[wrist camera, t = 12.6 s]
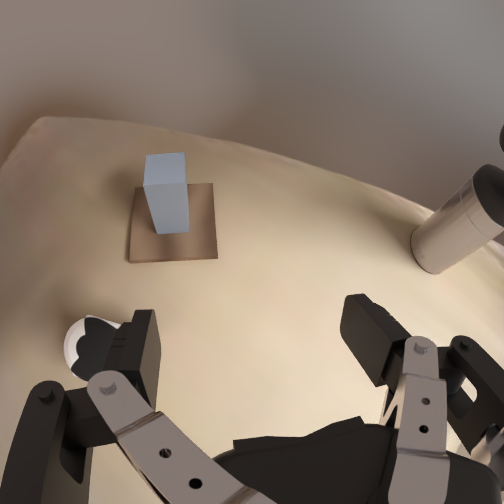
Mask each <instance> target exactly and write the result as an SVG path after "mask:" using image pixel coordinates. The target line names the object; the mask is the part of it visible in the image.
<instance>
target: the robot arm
mask: <svg viewBox="0 0 504 504" xmlns="http://www.w3.org/2000/svg"><path fill="white" fill-rule="evenodd" d="M499 139H500V146H501V148H502V150H503V152H504V126H503V127H502V130H501V133H500V138H499ZM502 231H504V171H503V170H501V169H499V168H498V167H496V166H493V165H490V164H487V165H484V166H482V167H481V168H480V169H479V170H478V171H477V172H476V173H475V174H474V175H473V176H472V177H471V178H470V179H469V180H468V181H467V182H466V183H465V184H464V185H463V186H462V187H461V188H460V189H459V190H458V191H457V192H456V193H455V194H454V195H453V196H452V197H451V198H450V199H449V200H448V201H447V202H446V203H445V204H444V205H443V206H441V207H440V208H439V209H438V210H437V211H436V212H435V213H434V214H433V215H432V216H431V217H430V218H428V219H427V220H426V221H425V222H424V223H423V224H422V225H421V226H419V227H418V228H417V229H416V230H415V231H414V232H413V234H412V237H411V248H412V252H413V254H414V257H415V259H416V260H417V262H418V263H419V265H420V266H421V267H422V268H423V269H424V270H426V271H427V272H429V273H432V274H440V273H441V272H443V271H445V270H446V269H448V268H450V267H451V266H453V265H455V264H456V263H458V262H459V261H461V260H462V259H464V258H465V257H467V256H468V255H470V254H471V253H473V252H474V251H476V250H477V249H479V248H480V247H482V246H483V245H485V244H486V243H487V242H489V241H490V240H492V239H493V238H494V237H496V236H497V235H498V234H499V233H501V232H502ZM340 333H341V336H342V339H343V340H344V342H345V343H346V344H347V346H348V347H349V349H350V350H351V352H352V353H353V355H354V356H355V358H356V359H357V360H358V362H359V363H360V365H361V366H362V368H363V369H364V371H365V372H366V374H367V375H368V377H369V378H370V380H371V381H372V382H373V384H374V385H375V387H379V386H382V385H385V384H387V386H388V388H387V390H386V393H385V398H384V403H383V408H382V412H381V417H380V421H379V424H364V422H363V420H362V418H361V417H360V416H358V417H354V418H351V419H347V420H343V421H339V422H335V423H332V424H330V425H328V426H326V427H324V428H322V429H320V430H317V431H315V432H313V433H311V434H309V435H307V436H304V437H275V436H264V437H257V438H248V439H239V440H233V448H234V449H232V450H229V451H226V452H224V453H222V454H219V455H218V456H216V457H214V458H212V459H211V458H210V457H209V456H208V455H207V454H205V453H204V452H203V451H202V450H201V449H200V448H199V447H198V446H197V445H196V444H194V443H193V442H192V441H191V440H190V439H189V438H188V437H187V436H186V435H185V434H184V433H183V432H182V431H181V430H180V429H179V428H178V427H177V426H176V425H175V424H174V423H173V422H172V421H171V420H170V419H169V418H168V417H167V416H166V415H165V414H164V413H163V412H161V411H158V412H155V409H156V397H157V387H158V377H159V368H160V360H161V343H160V337H159V332H158V327H157V321H156V316H155V311H154V310H153V309H150V310H135V312H134V315H133V319H132V322H124V323H123V324H122V325H121V326H120V327H119V328H118V329H117V330H116V332H115V335H114V338H113V340H112V343H111V347H110V349H109V352H108V355H107V358H106V361H105V364H104V367H103V370H102V372H100V373H97V374H95V375H94V376H93V377H92V378H91V379H90V380H89V382H88V384H87V387H84V388H80V389H74V390H68V391H65V390H64V388H63V386H62V385H61V384H60V383H58V382H56V381H43V382H41V383H39V384H37V385H36V386H34V387H33V389H32V390H31V392H30V394H29V396H28V399H27V401H26V404H25V406H24V409H23V412H22V415H21V417H20V420H19V423H18V426H17V429H16V432H15V435H14V438H13V441H12V445H11V448H10V451H9V455H8V458H7V462H6V466H5V470H4V474H3V478H2V483H1V487H0V504H88V500H89V485H90V473H91V463H92V455H93V447H96V446H101V445H107V444H112V443H116V444H117V446H118V447H119V449H120V450H121V451H122V453H123V454H124V456H125V457H126V458H127V460H128V461H129V462H130V464H131V465H132V466H133V467H134V469H135V470H136V471H137V472H138V474H139V475H140V476H141V477H142V479H143V480H144V481H145V483H146V484H147V485H148V486H149V488H150V489H151V490H152V491H153V492H154V494H155V495H156V496H157V497H158V498H159V499H160V500H161V501H162V502H163V504H502V499H501V491H504V370H503V369H502V368H501V367H500V366H499V364H498V363H497V362H496V361H495V360H494V359H493V358H492V357H491V356H490V355H489V354H488V353H487V352H486V351H485V350H484V349H483V348H482V347H481V346H480V345H479V344H478V343H477V342H475V341H474V340H473V339H471V338H469V337H467V336H462V335H459V336H455V337H454V338H453V339H452V341H451V343H450V346H449V347H436V345H435V344H434V342H432V341H431V340H429V339H428V338H425V337H421V336H413V337H412V336H411V335H410V334H409V333H408V332H407V331H406V330H405V329H404V328H403V327H402V325H401V324H400V323H399V322H398V321H396V319H395V318H394V317H393V316H390V313H389V312H388V311H387V310H386V309H385V308H383V307H381V306H380V305H378V304H376V303H373V302H372V301H371V300H370V299H369V298H368V297H367V296H366V295H365V294H363V293H362V294H354V295H348V296H347V297H346V298H345V302H344V308H343V313H342V318H341V323H340ZM466 377H467V378H468V380H469V381H470V382H471V383H472V384H473V386H474V387H475V388H476V390H477V398H476V400H475V402H474V403H473V401H472V400H471V399H470V397H469V396H468V395H467V394H466V392H465V391H464V390H463V389H462V387H461V385H462V383H463V381H464V380H465V378H466ZM447 421H448V422H449V424H450V425H451V427H452V428H453V430H454V431H455V433H456V434H457V436H458V437H459V439H460V440H461V442H462V443H463V445H464V446H465V448H466V450H467V451H468V452H469V454H470V456H471V459H469V458H466V457H463V456H460V455H457V454H455V453H452V452H449V451H447V450H446V435H447Z"/></svg>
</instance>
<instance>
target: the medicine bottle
mask: <svg viewBox="0 0 504 504" xmlns="http://www.w3.org/2000/svg"><path fill="white" fill-rule="evenodd" d="M120 326H121V324H118V323H115V322H111V321H108V320H105V319H102V318H99V317H95V316H92V315H86V317H85V318H83V319H80V320H78V321H77V322H75V323H74V324H73V325H72V326H71V327H70V329H69V330H68V332H67V334H66V336H65V340H64V356H65V360H66V362H67V365H68V366H69V368H70V369H71V371H72V374H73V375H74V376H75V377H78V378H80V379H82V380H85V381H88V382H89V380H90V379H91V378H92V377H93V376H94V375H95V374H97V373H100V372H102V370H103V367H104V364H105V361H106V358H107V355H108V352H109V349H110V347H111V343H112V340H113V338H114V335H115V332H116V330H117V329H118V328H119V327H120Z"/></svg>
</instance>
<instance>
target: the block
mask: <svg viewBox="0 0 504 504" xmlns="http://www.w3.org/2000/svg"><path fill="white" fill-rule="evenodd" d="M143 187H144V191H145V194H146V198H147V202H148V205H149V209H150V212H151V215H152V219H153V222H154V226H155V229H156V232H157V234H168V233H185V232H189V204H188V192H187V178H186V163H185V152H181V153H166V154H153V155H146V163H145V172H144V181H143Z"/></svg>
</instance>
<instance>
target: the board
mask: <svg viewBox="0 0 504 504" xmlns="http://www.w3.org/2000/svg"><path fill="white" fill-rule="evenodd" d="M187 192H188V204H189V232H185V233H168V234H157V232H156V229H155V226H154V222H153V219H152V215H151V212H150V209H149V205H148V202H147V198H146V194H145V191H144V187H141V188H135V195H134V205H133V215H132V226H131V240H130V257H129V261H130V262H131V263H146V262H164V261H182V260H200V259H218V252H217V240H216V226H215V212H214V197H213V183H208V184H187Z"/></svg>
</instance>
